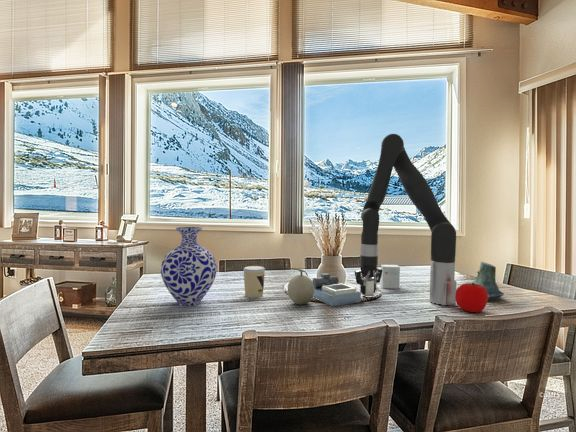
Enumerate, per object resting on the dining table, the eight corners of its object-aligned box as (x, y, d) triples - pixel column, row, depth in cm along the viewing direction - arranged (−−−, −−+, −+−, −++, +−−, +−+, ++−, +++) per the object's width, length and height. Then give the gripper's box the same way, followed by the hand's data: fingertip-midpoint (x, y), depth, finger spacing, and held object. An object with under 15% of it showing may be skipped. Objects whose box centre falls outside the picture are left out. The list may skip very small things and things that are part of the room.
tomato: (469, 316, 138) (470, 286, 137) (447, 307, 149) (448, 279, 148) (495, 314, 141) (497, 284, 141) (472, 305, 152) (473, 278, 152)
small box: (397, 286, 185) (398, 264, 184) (399, 288, 179) (400, 266, 179) (380, 285, 186) (381, 264, 185) (382, 288, 180) (382, 266, 180)
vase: (159, 312, 138) (159, 230, 137) (162, 297, 159) (162, 226, 157) (218, 308, 144) (219, 229, 142) (214, 294, 164) (214, 225, 163)
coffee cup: (261, 298, 159) (261, 270, 158) (240, 297, 161) (240, 269, 160) (267, 293, 168) (267, 266, 167) (247, 291, 170) (247, 265, 169)
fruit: (318, 302, 155) (319, 265, 154) (305, 309, 145) (306, 270, 144) (296, 298, 160) (297, 263, 159) (282, 304, 150) (282, 267, 149)
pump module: (376, 297, 164) (376, 278, 163) (367, 298, 162) (367, 279, 161) (368, 294, 168) (369, 276, 168) (360, 295, 166) (360, 277, 165)
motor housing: (360, 302, 155) (361, 279, 155) (332, 306, 149) (332, 282, 148) (335, 292, 171) (335, 271, 171) (308, 295, 165) (308, 274, 164)
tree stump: (454, 290, 181) (465, 254, 178) (500, 307, 170) (513, 269, 168) (446, 296, 165) (459, 257, 163) (496, 315, 155) (511, 274, 152)
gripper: (361, 256, 157) (360, 297, 158) (387, 254, 164) (386, 293, 165) (350, 254, 164) (349, 293, 165) (376, 252, 171) (375, 289, 171)
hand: (368, 293), depth 165 cm, fingers closed on pump module, 4 cm apart
